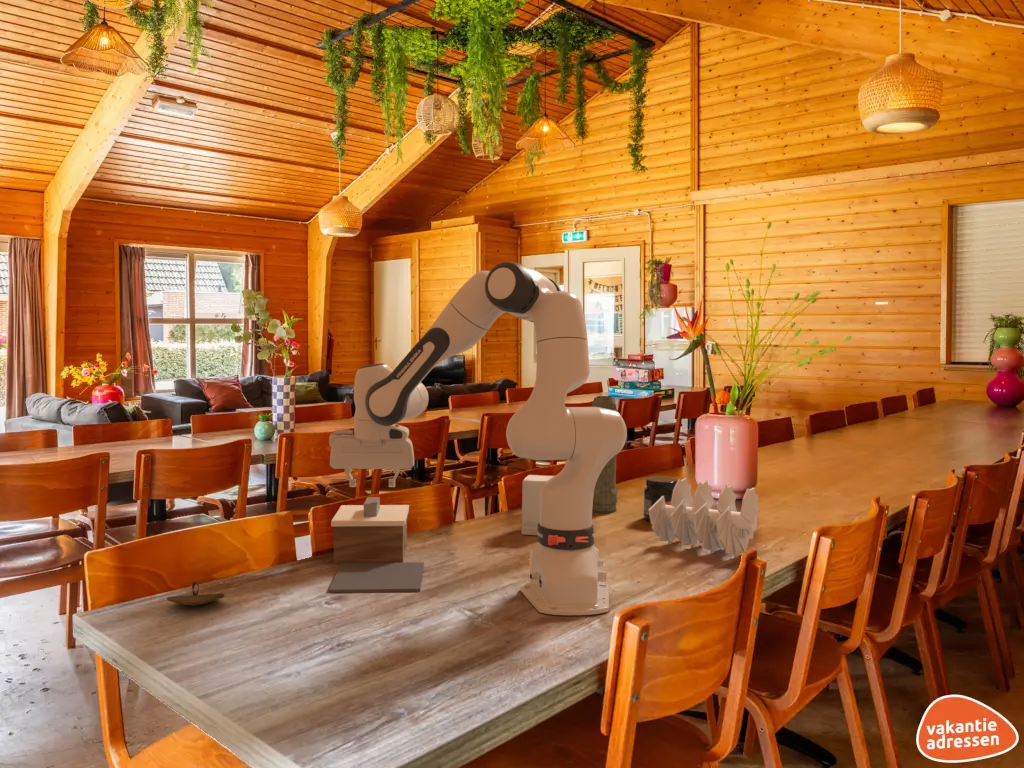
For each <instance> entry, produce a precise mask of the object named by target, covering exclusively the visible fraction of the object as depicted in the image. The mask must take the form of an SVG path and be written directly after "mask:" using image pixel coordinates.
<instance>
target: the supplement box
mask: <svg viewBox="0 0 1024 768" xmlns="http://www.w3.org/2000/svg"><path fill="white" fill-rule="evenodd" d="M554 476H555V475H541V474H540V475H539V474H528V475H527V476H525V478H524V479H523V480H522V486H521V487H522V489H521V491H522V492H521V493H522V497H521V498H522V499H521V501H522V502H521V535H527V536H528V535H529V536H537V527H538V523H539V522H540V491H541V488H542V486H543V485H544V484H545V482H546V481H547V480H549V479H550V478H552V477H554Z"/></svg>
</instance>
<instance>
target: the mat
mask: <svg viewBox="0 0 1024 768" xmlns="http://www.w3.org/2000/svg"><path fill="white" fill-rule="evenodd" d="M339 565H340V566H339V568H338V569H337V571H336V574H335V576H334V577H333V580H332V582H331V584H330V586H329V587H328V593H331V594H332V593H393V592H394V593H396V592H397V593H398V592H399V593H401V592H402V593H404V592H421V590H422V589H421V588H422V582H423V581H422V580H423V572H424V566H425V563H424V562H423V561H420V562H419V561H417V562H413V561H412V562H411V561H410V562H409V561H408V562H404V561H403V562H400V563H341V564H339Z"/></svg>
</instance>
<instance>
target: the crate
mask: <svg viewBox="0 0 1024 768" xmlns="http://www.w3.org/2000/svg"><path fill="white" fill-rule="evenodd" d="M407 546H408V518H407V519H406V523H405V526H333V565H341V563H400V562H404V559H405V553H406V550H407Z"/></svg>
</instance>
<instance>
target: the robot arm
mask: <svg viewBox="0 0 1024 768" xmlns="http://www.w3.org/2000/svg"><path fill="white" fill-rule="evenodd" d="M506 313H508V314H510V315H511V316H513V317H514V318H516V319H521V320H524V321H528V322H530V323H533V324H534V332H535V350H536V351H535V352H536V373H535V382H534V385H533V390H532V392H531V394H530V396H529V398H528V399H527V400H526V402H525V403H524V404H523V405H522V406H521V407H520V408H519V409H518V410H516V412H514V413H513V414H512V415H511V417H510V419H509V420H508V423H507V426H506V431H505V435H506V442H507V445H508V447H509V449H510V451H511V452H512V454H514V455H515V456H516V457H518V458H521V459H526V460H534V461H556V460H557V461H558V460H559V461H560V460H561V461H562V460H566V461H565V465H564V467H563V468H562V470H561V471H560V472H558V473H557V474H556V475H553V476H554V477H552V478H550V479H549V480H547V481H546V482H545V484H544V485H543V486H542V488H541V491H540V522H539V523H538V527H537V535H536V540H537V544H536V545H535V546H534V547H533V548H532V549H531V550H530V551H529V563H528V564H529V565H528V566H529V568H528V581H527V582H525V583H521V585H520V589H519V591H520V592H521V593H522V594H523V596H524V597H525V598H526V599H527V600H528V601H529V602H530V604H531V605H532V606H533V607H534V608H535V609H536V610H537V611H538V612H539V613H541V614H546V615H554V616H590V615H600V614H603V613H604V614H605V613H607V612H609V608H610V607H609V606H610V604H609V603H610V602H609V601H610V599H609V598H610V595H609V593H610V587H609V584H608V583H607V570H601V569H600V568H602V567H603V565H604V561H603V560H602V559H600V549H598V547H596V546H595V545H594V544H595V527H594V524H593V522H592V521H593V512H592V506H593V495H594V489H595V485H596V482H597V479H598V477H599V475H600V473H601V471H602V470H603V468H604V467H605V465H606V464H607V463H608V462H609V461H610V460H611V459H612V458H613V457H614V456H615V455H616V454H617V455H618V454H619V453H620V452H621V450H623V448H624V446H625V444H626V441H627V434H628V433H627V432H628V430H627V424H626V423H625V420H624V419H623V417H622V415H621V414H620V413H619V412H618V411H615V410H610V409H605V408H600V407H592V406H566V397H567V395H568V394H569V393H572V392H573V391H575V390H577V389H579V388H580V387H582V385H584V384H585V383H586V381H587V380H588V379H589V375H590V359H589V343H588V341H589V340H588V331H587V324H586V318H585V313H584V309H583V306H582V302H581V300H580V299H579V298H578V296H577V295H575V294H574V293H572V292H569V291H564V290H561V288H560V286H559V285H558V284H557V283H556V282H555V280H553V279H551V278H549V277H546V276H545V275H543V273H541V272H540V271H538V270H537V269H534V268H532V267H528V266H526V265H523V264H522V263H519V262H514V261H506V262H505V261H504V262H500V263H498V264H496V265H495V266H493V268H491V269H490V270H479V271H478V272H475V274H473V275H472V276H471V277H470V278H469V279H468V280H467V281H466V282H465V283H464V284H463V285H462V286H461V287H459V289H458V290H457V291H456V293H455V294H454V295H453V296H452V298H451V299H450V300H449V301H448V303H447V304H446V306H445V307H444V308H443V309H442V311H441V313H440V314H439V315H438V317H436V319H435V321H434V322H433V323H432V325H431V326H430V327H429V328H428V329H427V331H426V332H425V333H424V335H422V337H421V338H420V339H419V341H417V342H416V343H415V345H414V346H413V347H412V348H411V349H410V351H409V352H408V353H407V354H406V355H405V356H404V357H403V359H402V360H401V361H400V362H399V364H398V365H397V366H396V367H395V368H394V369H392V367H390V365H388V364H387V363H382V362H381V363H376V364H374V363H373V364H367V365H363V366H361V367H359V368H358V369H357V371H356V373H355V377H354V384H353V385H354V387H353V402H354V405H355V412H354V416H353V429H349V430H348V429H347V430H346V429H345V430H341V429H337V430H335V431H334V432H332V433H330V435H329V436H328V445H329V447H330V448H331V449H330V456H329V466H330V467H331V468H332V469H337V470H338V469H339V470H342V469H343V470H344V474H345V477H346V478H347V480H348V481H349V483H348V484H349V485H348V486H349V488H356V487H357V478H353V476H352V474H351V473H352V471H353V470H354V469H355V470H356V469H357V470H364V469H365V470H379V469H380V470H393V471H392V472H393V474H394V476H393V477H392V478H389V479H388V488H395V487H396V479H397V477H398V476H399V474H400V471H401V470H411V469H412V468H413V467H414V466H415V452H414V451H415V450H414V445H413V442H412V439H411V438H409V436H410V430H409V429H410V428H408V427H406V426H404V425H400V424H397V423H400V422H403V421H406V420H410V419H413V418H416V417H418V416H420V415H422V414H423V413H424V412H425V411H426V410H427V408H428V406H429V401H430V396H429V395H430V394H429V392H428V391H429V390H428V389H427V387H426V385H425V384H424V383H423V382H422V381H423V380H424V379H425V378H426V377H427V376H428V374H429V373H430V372H432V370H433V369H434V368H435V367H436V366H437V365H439V364H440V363H441V362H443V361H445V360H447V359H449V358H451V357H454V356H456V355H459V354H461V353H463V352H466V351H469V350H470V349H471V348H473V347H474V346H475V345H476V344H478V342H480V341H481V340H482V339H483V337H485V335H486V334H487V332H488V331H489V330H490V329H491V327H492V326H493V325H494V323H495V322H496V320H497V319H498V318H500V316H502V315H503V314H506Z"/></svg>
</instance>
